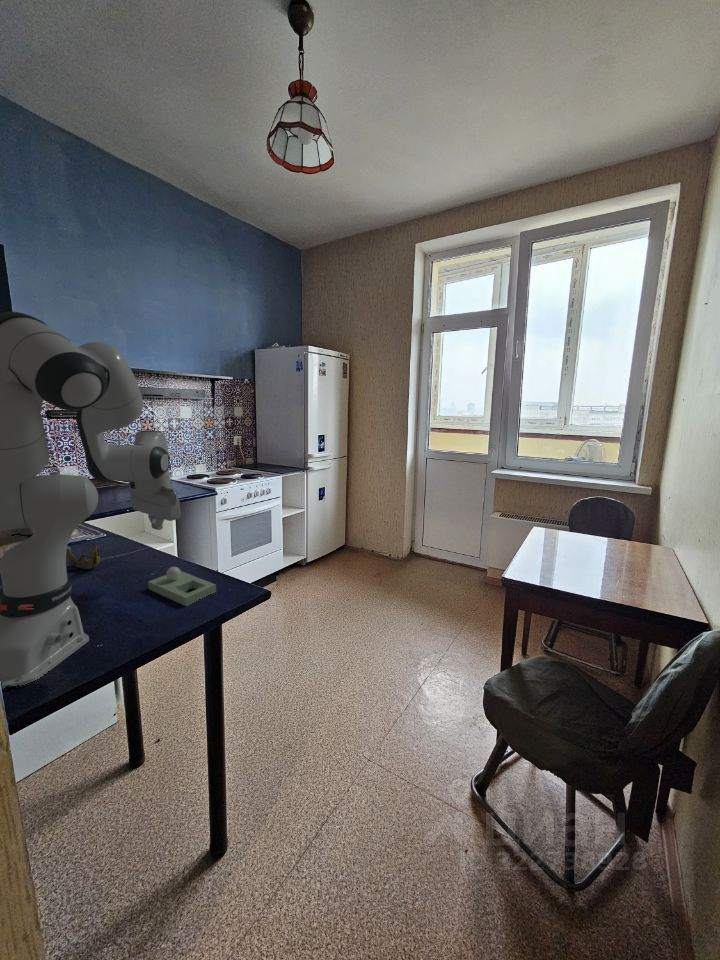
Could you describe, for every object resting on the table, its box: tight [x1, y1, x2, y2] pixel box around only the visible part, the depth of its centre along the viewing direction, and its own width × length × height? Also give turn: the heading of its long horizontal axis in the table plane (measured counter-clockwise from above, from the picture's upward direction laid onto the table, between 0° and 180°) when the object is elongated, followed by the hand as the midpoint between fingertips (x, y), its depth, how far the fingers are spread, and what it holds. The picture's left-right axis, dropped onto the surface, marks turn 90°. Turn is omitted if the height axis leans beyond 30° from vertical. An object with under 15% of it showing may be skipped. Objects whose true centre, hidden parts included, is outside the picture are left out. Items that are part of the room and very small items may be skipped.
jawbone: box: [66, 541, 101, 570], centre depth 129 cm, size 9×15×10 cm
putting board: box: [147, 570, 217, 607], centre depth 115 cm, size 18×10×2 cm, turn 59°
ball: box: [165, 566, 182, 580], centre depth 117 cm, size 4×4×4 cm
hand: (157, 528), depth 118 cm, fingers closed
